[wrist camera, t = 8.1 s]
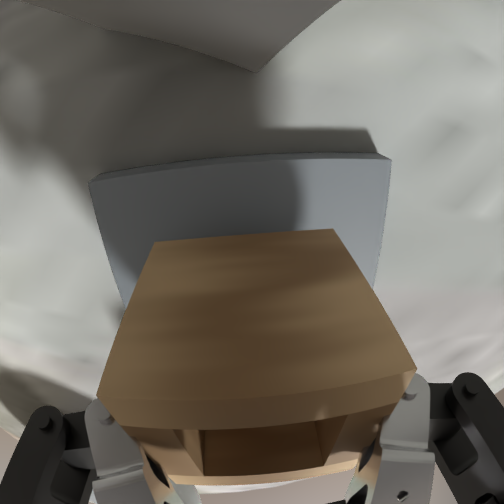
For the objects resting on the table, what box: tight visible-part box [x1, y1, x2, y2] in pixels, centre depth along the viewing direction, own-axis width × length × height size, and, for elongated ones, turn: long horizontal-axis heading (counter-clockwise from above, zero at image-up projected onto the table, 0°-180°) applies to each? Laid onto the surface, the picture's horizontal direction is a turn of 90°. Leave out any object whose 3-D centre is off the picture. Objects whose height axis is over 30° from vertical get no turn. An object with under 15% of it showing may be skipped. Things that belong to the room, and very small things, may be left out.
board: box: [88, 153, 392, 308], centre depth 13 cm, size 12×18×6 cm, turn 3°
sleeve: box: [96, 228, 417, 485], centre depth 9 cm, size 6×6×6 cm
